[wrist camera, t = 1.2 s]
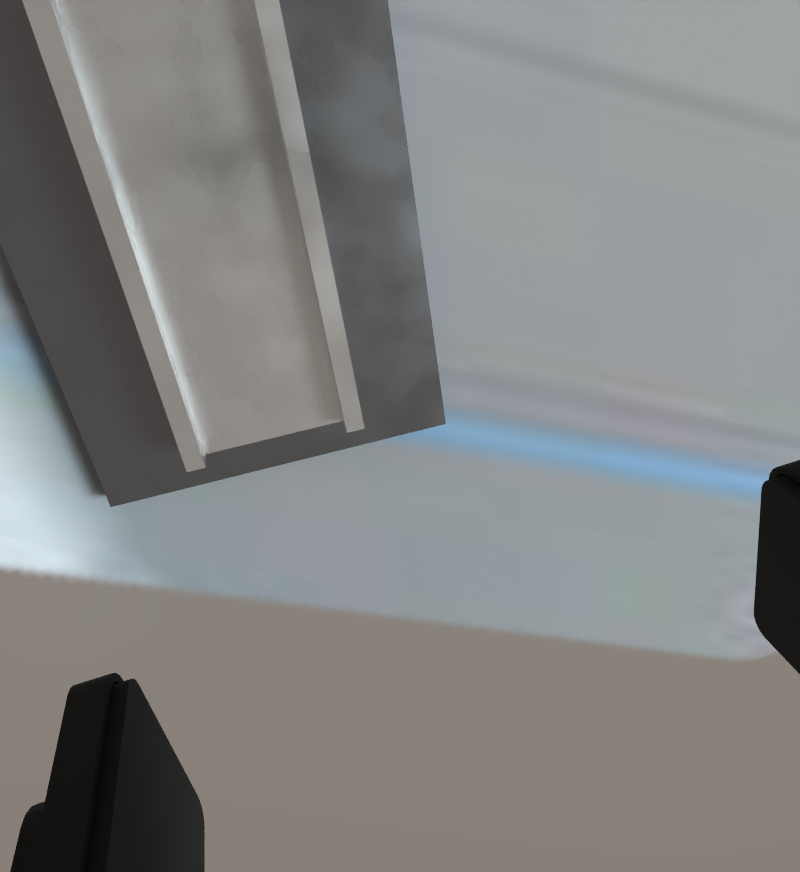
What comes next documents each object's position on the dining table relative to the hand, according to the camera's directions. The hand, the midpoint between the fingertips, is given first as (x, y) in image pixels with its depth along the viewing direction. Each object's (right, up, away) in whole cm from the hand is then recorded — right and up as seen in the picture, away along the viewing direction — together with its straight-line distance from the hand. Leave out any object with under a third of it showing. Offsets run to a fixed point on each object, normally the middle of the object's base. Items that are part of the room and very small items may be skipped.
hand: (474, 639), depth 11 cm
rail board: (-9, +13, +19) cm, 24 cm away
